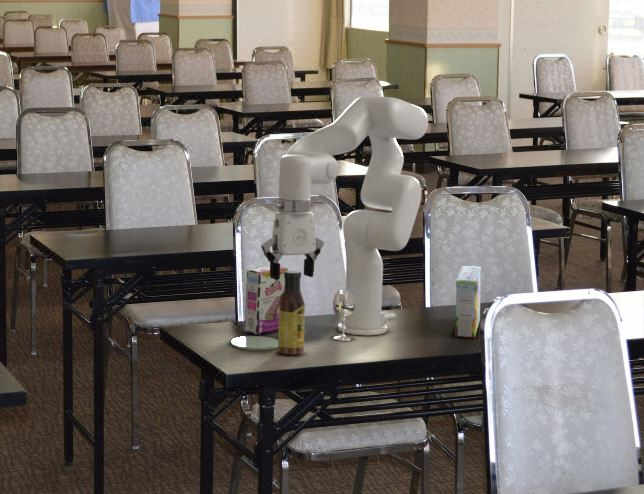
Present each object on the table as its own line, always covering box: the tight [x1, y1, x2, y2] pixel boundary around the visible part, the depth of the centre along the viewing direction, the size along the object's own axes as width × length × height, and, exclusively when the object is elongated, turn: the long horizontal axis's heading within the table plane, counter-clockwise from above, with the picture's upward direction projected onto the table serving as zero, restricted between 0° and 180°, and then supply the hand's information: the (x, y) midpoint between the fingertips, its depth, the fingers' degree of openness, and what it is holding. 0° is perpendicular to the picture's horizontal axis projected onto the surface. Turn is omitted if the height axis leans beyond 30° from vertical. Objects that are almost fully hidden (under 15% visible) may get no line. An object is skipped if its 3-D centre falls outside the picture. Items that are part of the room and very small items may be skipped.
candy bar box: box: [244, 265, 289, 336], centre depth 320 cm, size 11×5×16 cm, turn 135°
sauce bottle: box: [277, 270, 306, 356], centre depth 297 cm, size 6×6×20 cm
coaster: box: [231, 335, 279, 351], centre depth 306 cm, size 12×12×1 cm
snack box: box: [454, 265, 482, 339], centre depth 326 cm, size 21×6×15 cm, turn 164°
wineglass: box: [332, 289, 355, 342], centre depth 313 cm, size 6×6×12 cm
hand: (291, 277), depth 296 cm, fingers open, 9 cm apart
